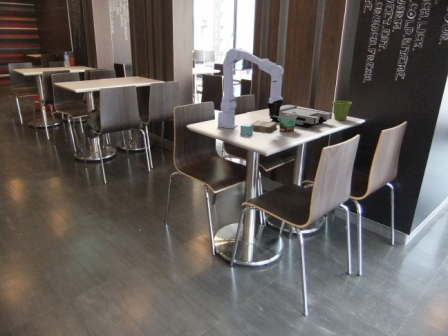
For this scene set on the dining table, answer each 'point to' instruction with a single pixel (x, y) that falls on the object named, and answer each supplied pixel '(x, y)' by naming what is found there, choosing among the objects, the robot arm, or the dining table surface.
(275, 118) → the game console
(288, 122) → the food container
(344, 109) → the plant pot
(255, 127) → the walnut base
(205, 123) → the dining table surface
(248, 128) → the teal cube
